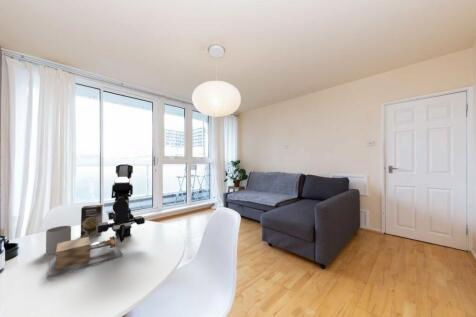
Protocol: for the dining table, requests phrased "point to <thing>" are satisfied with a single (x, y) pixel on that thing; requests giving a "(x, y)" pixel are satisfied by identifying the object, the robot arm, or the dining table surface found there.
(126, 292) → the dining table surface
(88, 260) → the wooden block on base
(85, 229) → the coffee box
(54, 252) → the cup
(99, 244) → the shaft
